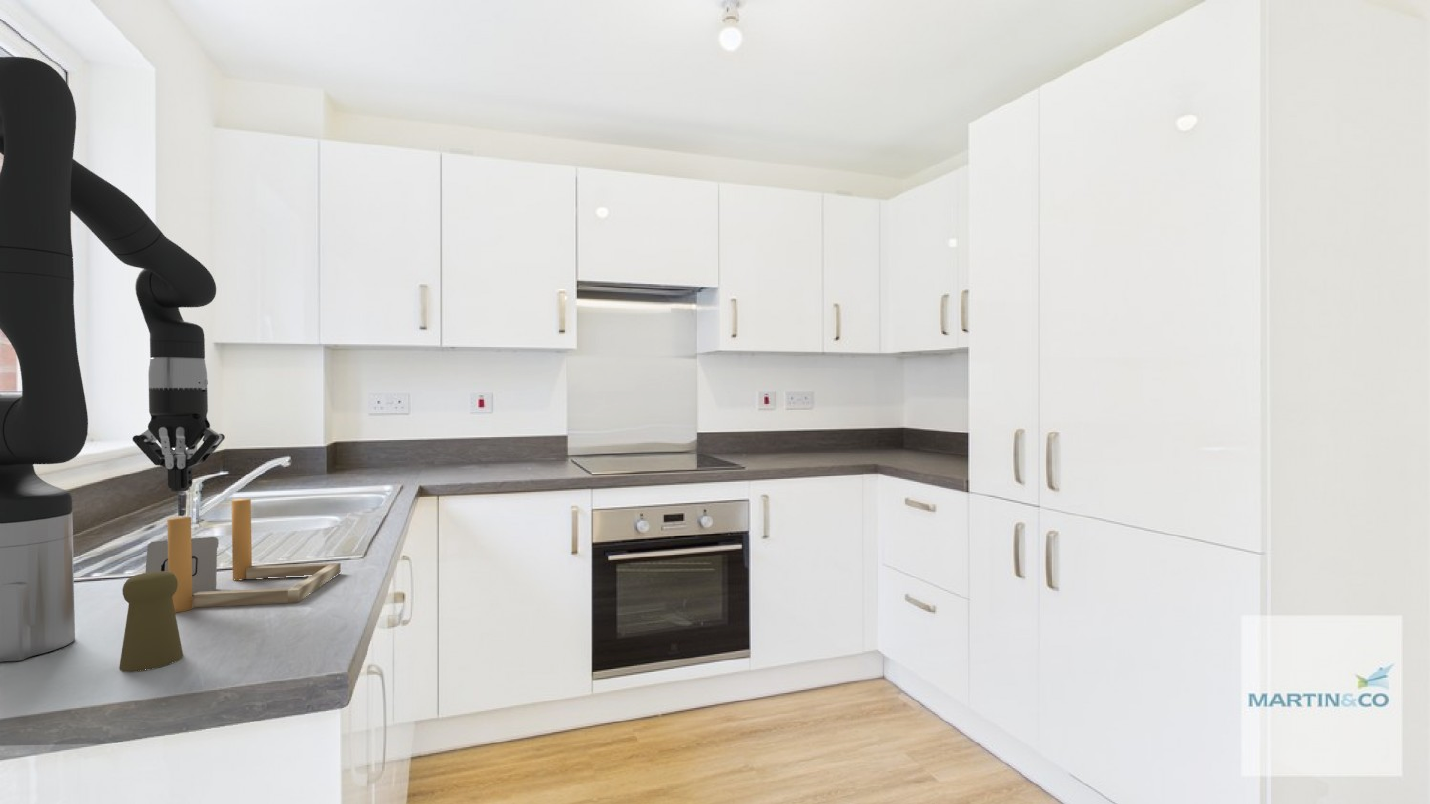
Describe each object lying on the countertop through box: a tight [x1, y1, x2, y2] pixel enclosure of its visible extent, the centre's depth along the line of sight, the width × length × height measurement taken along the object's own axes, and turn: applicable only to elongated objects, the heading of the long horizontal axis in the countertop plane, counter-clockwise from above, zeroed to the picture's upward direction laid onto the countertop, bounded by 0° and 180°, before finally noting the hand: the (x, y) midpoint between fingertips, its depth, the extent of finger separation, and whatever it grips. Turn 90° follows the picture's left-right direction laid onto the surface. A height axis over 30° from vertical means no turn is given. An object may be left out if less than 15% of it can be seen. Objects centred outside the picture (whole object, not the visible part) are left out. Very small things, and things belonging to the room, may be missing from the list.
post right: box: [231, 498, 253, 581], centre depth 118 cm, size 3×3×14 cm
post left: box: [166, 516, 194, 614], centre depth 101 cm, size 3×3×14 cm
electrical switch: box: [144, 536, 219, 595], centre depth 110 cm, size 9×5×9 cm, turn 116°
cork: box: [118, 571, 184, 673], centre depth 82 cm, size 6×6×11 cm
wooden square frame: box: [192, 562, 342, 608], centre depth 112 cm, size 16×15×2 cm
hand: (180, 491), depth 109 cm, fingers closed
